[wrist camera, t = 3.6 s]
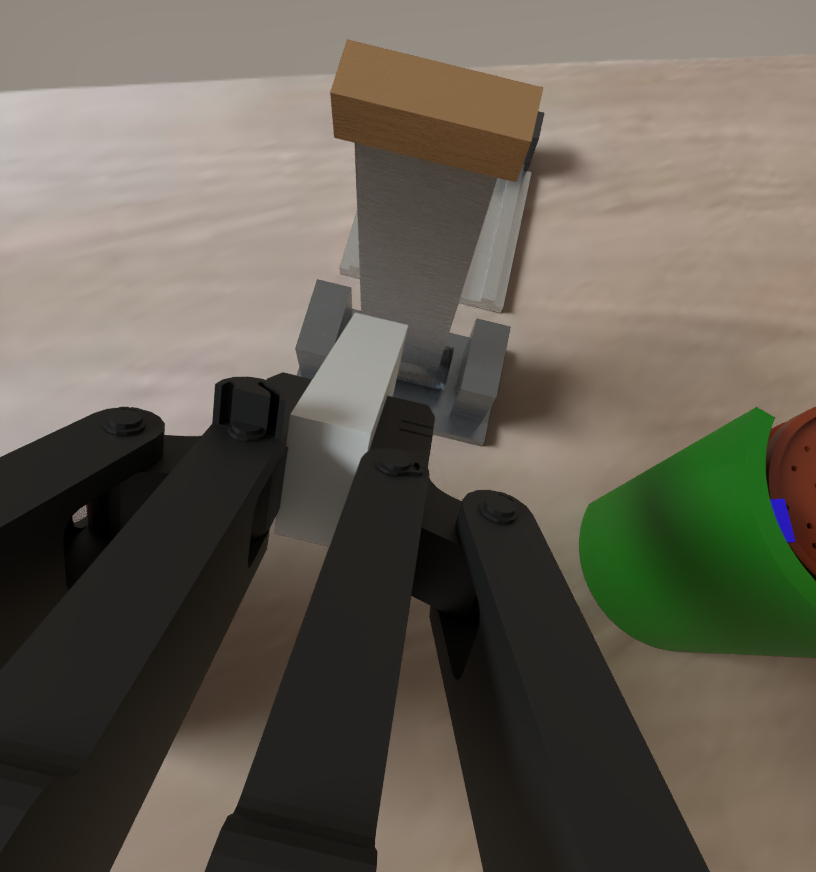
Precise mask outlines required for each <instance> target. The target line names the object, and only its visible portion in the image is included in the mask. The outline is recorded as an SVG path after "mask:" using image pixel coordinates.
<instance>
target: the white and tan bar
mask: <svg viewBox="0 0 816 872" xmlns="http://www.w3.org/2000/svg"><path fill="white" fill-rule="evenodd" d="M542 91H543V87H539V86H534V85H530V84H526V83H522V82H518V81H514V80H510V79H506V78H502V77H498V76H494V75H490V74H486V73H482V72H478V71H474V70H469V69H465V68H461V67H457V66H453V65H449V64H445V63H441V62H437V61H433V60H429V59H425V58H421V57H417V56H413V55H409V54H404V53H400V52H396V51H392V50H388V49H384V48H380V47H376V46H372V45H368V44H364V43H360V42H356V41H351V40H348V39H347V41H346V45H345V48H344V51H343V54H342V57H341V60H340V63H339V67H338V70H337V73H336V76H335V79H334V82H333V86H332V89H331V92H330V94H331V106H332V118H333V130H334V138H337V139H342V140H346V141H350V142H354V143H355V166H356V191H357V216H358V241H359V266H360V291H361V314H363V315H367V316H372V317H376V318H380V319H384V320H388V321H393V322H397V323H401V324H405V325H408V329H407V334H406V338H405V343H404V347H403V352H402V357H401V361H400V366H399V370H398V375H397V380H402V381H406V382H410V383H414V384H418V385H422V386H426V387H430V388H434V389H438V390H442V391H443V390H444V388H445V384H446V381H447V377H448V373H449V369H450V365H451V361H452V357H453V352H454V347H451V346H447V345H446V341H447V338H448V335H449V332H450V329H451V325H452V322H453V319H454V316H455V313H456V309H457V306H458V303H459V300H460V297H461V293H462V290H463V287H464V284H465V281H466V278H467V274H468V271H469V268H470V265H471V262H472V258H473V255H474V252H475V249H476V246H477V242H478V239H479V236H480V233H481V230H482V226H483V223H484V220H485V217H486V214H487V211H488V207H489V204H490V201H491V198H492V195H493V191H494V188H495V185H496V182H497V179H498V178H500V179H504V180H508V181H512V182H517V179H518V177H519V174H520V171H521V168H522V166H523V163H524V160H525V158H526V155H527V152H528V149H529V147H530V144H531V140H532V136H533V132H534V127H535V123H536V118H537V114H538V109H539V105H540V100H541V96H542Z"/></svg>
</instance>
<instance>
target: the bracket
mask: <svg viewBox="0 0 816 872" xmlns="http://www.w3.org/2000/svg"><path fill="white" fill-rule="evenodd" d="M543 117H544V113H543V112H539V111H538V114H537V118H536V123H535V127H534V132H533V136H532V140H531V144H530V147H529V149H528V152H527V155H526V158H525V160H524V163H523V166H522V168H521V171H520V174H519V177H518V179H517V182H512V181H508V180H504V179H500V178H498V179H497V182H496V185H495V188H494V191H493V195H492V198H491V201H490V204H489V207H488V211H487V214H486V217H485V220H484V223H483V226H482V230H481V233H480V236H479V239H478V242H477V246H476V249H475V252H474V255H473V258H472V262H471V265H470V268H469V271H468V274H467V278H466V281H465V284H464V287H463V290H462V293H461V297H460V300H459V303H461V304H466V305H470V306H474V307H478V308H482V309H486V310H490V311H494V312H498V313H501V311H502V309H503V306H504V301H505V296H506V292H507V287H508V282H509V277H510V273H511V268H512V263H513V258H514V254H515V249H516V244H517V239H518V234H519V230H520V225H521V220H522V215H523V211H524V206H525V201H526V196H527V192H528V187H529V182H530V177H531V173H532V172H529V171H527V170H528V167H529V164H530V162H531V159H532V156H533V153H534V151H535V148H536V145H537V143H538V140H539V136H540V131H541V126H542V122H543ZM340 274H343V275H348V276H352V277H356V278H360V266H359V241H358V216H357V212H356V215H355V218H354V222H353V225H352V228H351V231H350V235H349V238H348V241H347V244H346V248H345V251H344V254H343V258H342V261H341V264H340ZM354 313H359V314H361V311H359V310H355V309H352V294H351V287H347V286H343V285H339V284H334V283H330V282H326V281H322V280H318V279H317V281H316V285H315V288H314V291H313V294H312V297H311V300H310V304H309V307H308V310H307V313H306V316H305V319H304V322H303V326H302V329H301V332H300V335H299V338H298V341H297V345H296V348H295V350H296V354H297V358H298V362H299V366H300V367H299V370H298V373H297V376H300V377H304V378H309V379H313V378H314V376H315V375H316V373H317V372H318V370H319V368H320V367H321V365H322V364H323V362H324V361H325V359H326V357H327V356H328V354H329V353H330V351H331V350H332V348H333V346H334V345H335V343H336V342H337V340H338V339H339V337H340V335H341V334H342V332H343V331H344V329H345V327H346V326H347V324H348V323H349V321H350V320H351V318H352V316H353V315H354ZM510 328H511V327H510V326H505V325H501V324H497V323H493V322H489V321H485V320H481V319H476V321H475V324H474V327H473V329H472V332H471V335H470V337H465V336H461V335H457V334H453V333H449V335H448V338H447V341H446V345H447V346H451V347H454V352H453V357H452V361H451V365H450V369H449V373H448V377H447V381H446V384H445V388H444V390H443V391H442V390H438V389H434V388H430V387H426V386H422V385H418V384H414V383H410V382H406V381H402V380H397V379H396V384H395V388H394V393H393V397H396V398H400V399H404V400H408V401H412V402H417V403H421V404H425V405H428V406H429V407H430V409H431V410H432V412H433V414H434V415H435V423H434V429H433V434H434V435H438V436H442V437H446V438H450V439H454V440H458V441H462V442H466V443H470V444H474V445H478V446H482V445H483V443H484V441H485V436H486V431H487V426H488V422H489V417H490V412H491V407H492V404H493V402H494V401H495V399H496V397H497V392H498V387H499V382H500V377H501V372H502V367H503V362H504V357H505V352H506V348H507V343H508V338H509V333H510Z"/></svg>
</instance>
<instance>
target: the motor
mask: <svg viewBox="0 0 816 872" xmlns="http://www.w3.org/2000/svg"><path fill="white" fill-rule="evenodd" d="M774 419H775V417H773V416H771V415H770V414H768V413H766V412H764V411H763V410H761V409H759V408H757V407H756V408H754V409H752V410H750V411H749V412H747V413H745V414H744V415H742V416H740V417H738V418H737V419H735V420H733V421H731V422H730V423H728V424H726V425H725V426H723V427H721V428H719V429H718V430H716V431H714V432H712V433H711V434H709V435H707V436H706V437H704V438H702V439H700V440H699V441H697V442H695V443H694V444H692V445H690V446H688V447H687V448H685V449H683V450H681V451H680V452H678V453H676V454H675V455H673V456H671V457H669V458H668V459H666V460H664V461H663V462H661V463H659V464H657V465H656V466H654V467H652V468H650V469H649V470H647V471H645V472H644V473H642V474H640V475H638V476H637V477H635V478H633V479H631V480H630V481H628V482H626V483H625V484H623V485H621V486H619V487H618V488H616V489H614V490H613V491H611V492H609V493H607V494H606V495H604V496H602V497H600V498H599V499H597V500H595V501H594V502H592V503H590V504H589V505H588V507H587V509H586V512H585V514H584V517H583V521H582V525H581V530H580V538H579V553H580V561H581V566H582V570H583V574H584V577H585V580H586V582H587V585H588V587H589V589H590V591H591V593H592V595H593V597H594V599H595V600H596V602H597V603H598V605H599V606H600V608H601V609H602V610H603V612H604V613H605V614H606V615H607V616H608V617H609V618H610V619H611V621H613V622H614V623H615V624H616V625H617V626H618V627H619V628H620V629H622V630H623V631H624V632H626V633H627V634H629V635H630V636H632V637H633V638H635V639H637V640H639V641H641V642H643V643H645V644H647V645H650V646H653V647H656V648H659V649H664V650H670V651H680V652H702V653H723V654H744V655H765V656H786V657H807V658H816V407H814V408H812V409H810V410H808V411H806V412H804V413H802V414H800V415H798V416H796V417H794V418H792V419H790V420H789V421H788V422H785V423H782V424H780V425H778V426H776V427H774V428H772V429H771V427H772V424H773V422H774Z"/></svg>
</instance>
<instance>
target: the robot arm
mask: <svg viewBox="0 0 816 872" xmlns="http://www.w3.org/2000/svg"><path fill="white" fill-rule="evenodd" d="M407 329H408V325H405V324H401V323H397V322H393V321H388V320H384V319H380V318H376V317H372V316H367V315H363V314H359V313H354V315H353V316H352V318H351V320H350V321H349V323H348V324H347V326H346V327H345V329H344V331H343V332H342V334H341V335H340V337H339V339H338V340H337V342H336V343H335V345H334V346H333V348H332V350H331V351H330V353H329V354H328V356H327V357H326V359H325V361H324V362H323V364H322V365H321V367H320V368H319V370H318V372H317V373H316V375H315V376H314V378H313V379H309V378H304V377H300V376H296V375H292V374H288V373H283V372H282V373H280V374H278V375H275V376H273V377H270V378H268V379H267V380H264V379H260V378H253V377H232V378H227V379H223V380H221V381H219V382H218V383H216V384H215V394H214V408H213V422H212V425H211V426H210V427H209V428H208V429H207V430H206V432H205V433H204V434H203V435H202V436H172V435H164V432H165V423H164V422H163V421H162V419H161V418H160V417H159V416H157V415H155V414H154V413H152V412H149V411H146V410H142V409H139V408H134V407H131V408H129V407H119V408H111V409H105V410H102V411H99V412H96V413H93V414H91V415H89V416H87V417H85V418H83V419H81V420H78V421H76V422H74V423H72V424H70V425H68V426H66V427H64V428H61V429H59V430H57V431H55V432H53V433H51V434H49V435H46V436H44V437H42V438H40V439H38V440H36V441H34V442H32V443H29V444H27V445H25V446H23V447H21V448H19V449H17V450H15V451H12V452H10V453H8V454H6V455H4V456H2V457H0V872H110V870H111V868H112V866H113V863H114V861H115V859H116V857H117V855H118V853H119V851H120V849H121V847H122V845H123V843H124V841H125V839H126V837H127V835H128V833H129V831H130V829H131V827H132V825H133V822H134V820H135V818H136V816H137V814H138V812H139V810H140V808H141V806H142V804H143V802H144V800H145V798H146V796H147V794H148V792H149V790H150V788H151V786H152V783H153V781H154V779H155V777H156V775H157V773H158V771H159V769H160V767H161V765H162V763H163V761H164V759H165V757H166V755H167V753H168V751H169V749H170V747H171V744H172V742H173V740H174V738H175V736H176V734H177V732H178V730H179V728H180V726H181V724H182V722H183V720H184V718H185V716H186V714H187V712H188V710H189V708H190V706H191V703H192V701H193V699H194V697H195V695H196V693H197V691H198V689H199V687H200V685H201V683H202V681H203V679H204V677H205V675H206V673H207V671H208V669H209V667H210V664H211V662H212V660H213V658H214V656H215V654H216V652H217V650H218V648H219V646H220V644H221V642H222V640H223V638H224V636H225V634H226V632H227V630H228V628H229V626H230V623H231V621H232V619H233V617H234V615H235V613H236V611H237V609H238V607H239V605H240V603H241V601H242V599H243V597H244V595H245V593H246V591H247V589H248V587H249V584H250V582H251V580H252V578H253V576H254V574H255V572H256V570H257V568H258V566H259V564H260V562H261V560H262V558H263V556H264V554H265V552H266V550H267V544H268V537H269V530H270V527H271V525H272V523H273V521H274V519H275V517H276V523H275V531H274V534H278V535H282V536H287V537H291V538H295V539H299V540H304V541H308V542H312V543H316V544H321V545H325V546H329V549H328V552H327V555H326V558H325V561H324V563H323V566H322V569H321V572H320V575H319V577H318V580H317V583H316V586H315V589H314V592H313V594H312V597H311V600H310V603H309V606H308V608H307V611H306V614H305V617H304V620H303V622H302V625H301V628H300V631H299V634H298V637H297V639H296V642H295V645H294V648H293V651H292V653H291V656H290V659H289V662H288V665H287V667H286V670H285V673H284V676H283V679H282V682H281V684H280V687H279V690H278V693H277V696H276V698H275V701H274V704H273V707H272V710H271V712H270V715H269V718H268V721H267V724H266V727H265V729H264V732H263V735H262V738H261V741H260V743H259V746H258V749H257V752H256V755H255V757H254V760H253V763H252V766H251V769H250V772H249V774H248V777H247V780H246V783H245V786H244V788H243V791H242V794H241V797H240V799H239V802H238V804H237V807H236V809H235V811H234V813H233V814H231V815H229V816H228V817H227V819H226V821H225V823H224V825H223V826H222V828H221V831H220V833H219V836H218V838H217V841H216V843H215V846H214V848H213V851H212V853H211V856H210V859H209V862H208V864H207V867H206V870H205V872H376V868H377V850H376V848H375V836H376V828H377V821H378V814H379V808H380V801H381V794H382V788H383V781H384V774H385V768H386V761H387V754H388V747H389V741H390V734H391V727H392V721H393V714H394V707H395V701H396V694H397V687H398V681H399V674H400V667H401V661H402V654H403V647H404V641H405V634H406V627H407V621H408V614H409V607H410V600H411V596H413V597H415V598H417V599H419V600H421V601H423V602H425V603H427V604H429V605H431V606H430V622H431V627H432V631H433V636H434V641H435V645H436V650H437V655H438V660H439V664H440V669H441V674H442V678H443V683H444V688H445V693H446V697H447V702H448V707H449V711H450V716H451V721H452V726H453V730H454V735H455V740H456V744H457V749H458V754H459V759H460V763H461V768H462V773H463V777H464V782H465V787H466V792H467V796H468V801H469V806H470V811H471V815H472V820H473V825H474V829H475V834H476V839H477V844H478V848H479V853H480V858H481V862H482V867H483V872H710V871H709V869H708V867H707V865H706V863H705V861H704V859H703V857H702V855H701V853H700V851H699V849H698V847H697V845H696V843H695V841H694V839H693V837H692V835H691V833H690V831H689V829H688V827H687V825H686V823H685V821H684V819H683V817H682V815H681V813H680V811H679V809H678V807H677V805H676V803H675V801H674V798H673V796H672V794H671V792H670V790H669V788H668V786H667V784H666V782H665V780H664V778H663V776H662V774H661V772H660V770H659V768H658V766H657V764H656V762H655V760H654V758H653V756H652V754H651V752H650V750H649V748H648V746H647V744H646V742H645V740H644V738H643V736H642V734H641V732H640V730H639V728H638V726H637V724H636V722H635V720H634V718H633V716H632V714H631V712H630V710H629V708H628V706H627V704H626V702H625V700H624V698H623V696H622V694H621V691H620V689H619V687H618V685H617V683H616V681H615V679H614V677H613V675H612V673H611V671H610V669H609V667H608V665H607V663H606V661H605V659H604V657H603V655H602V653H601V651H600V649H599V647H598V645H597V643H596V641H595V639H594V637H593V635H592V633H591V631H590V629H589V627H588V625H587V623H586V621H585V619H584V617H583V615H582V613H581V611H580V609H579V607H578V605H577V603H576V601H575V599H574V597H573V595H572V593H571V591H570V589H569V587H568V585H567V582H566V580H565V578H564V576H563V574H562V572H561V570H560V568H559V566H558V564H557V562H556V560H555V558H554V556H553V554H552V552H551V550H550V548H549V546H548V544H547V542H546V540H545V538H544V536H543V534H542V532H541V530H540V528H539V526H538V524H537V522H536V520H535V518H534V516H533V514H532V513H531V512H530V510H529V509H528V508H527V506H526V505H524V504H523V503H521V502H520V501H519V500H517V499H516V498H514V497H512V496H510V495H507V494H505V493H502V492H496V491H492V490H476V491H474V492H471V493H468V494H467V495H466V496H465V498H464V499H463V501H460V500H458V499H455V498H453V497H451V496H449V495H448V494H446V493H444V492H442V491H441V490H440V489H438V488H437V487H436V486H435V485H434V484H433V483H432V482H431V480H430V478H429V470H428V462H429V456H430V449H431V443H432V436H433V429H434V423H435V415H434V414H433V412H432V410H431V409H430V407H429V406H428V405H425V404H421V403H417V402H412V401H408V400H404V399H400V398H396V397H393V393H394V388H395V384H396V379H397V375H398V370H399V366H400V361H401V357H402V352H403V347H404V343H405V338H406V334H407ZM85 505H86V507H87V516H86V517H85V518H83V519H82V520H80V521H79V522H76V523H73V519H72V515H74V514H75V513H76V512H77V511H78V510H79V509H80V508H82V507H83V506H85ZM276 515H277V516H276Z"/></svg>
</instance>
